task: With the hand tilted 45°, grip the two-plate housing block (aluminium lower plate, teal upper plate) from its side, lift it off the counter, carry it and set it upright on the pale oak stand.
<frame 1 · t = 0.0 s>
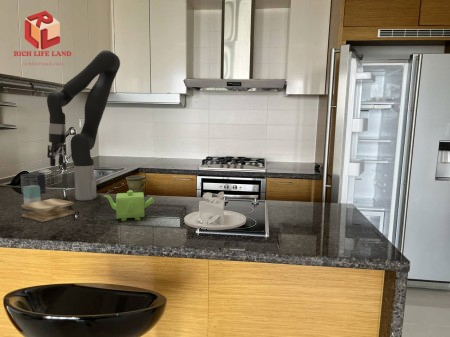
hand: (57, 165, 165), 17 cm above the counter, tool pointing down, fingers open, 8 cm apart
dish: (215, 221, 132), on the counter
stand: (48, 215, 137), on the counter
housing: (32, 207, 148), on the counter
small box: (34, 193, 181), on the counter
ceramic cup: (138, 196, 176), on the counter
kettle: (130, 218, 134), on the counter
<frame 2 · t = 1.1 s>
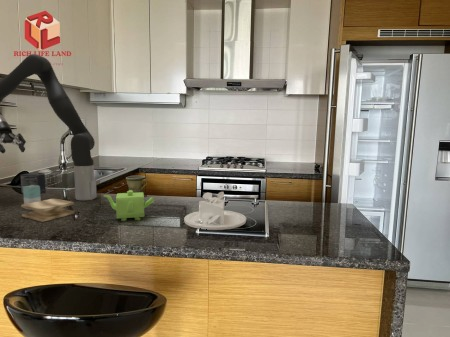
hand: (14, 151, 151), 25 cm above the counter, tool tilted 45°, fingers open, 8 cm apart
nothing on the counter moved.
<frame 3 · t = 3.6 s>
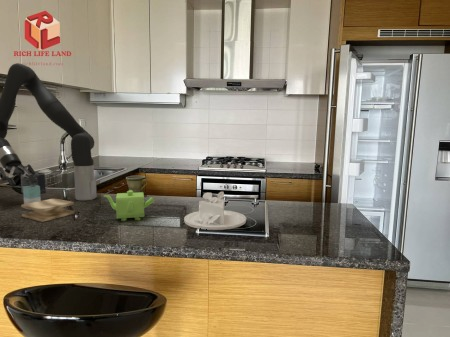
hand: (24, 184, 150), 10 cm above the counter, tool tilted 45°, fingers open, 8 cm apart
nothing on the counter moved.
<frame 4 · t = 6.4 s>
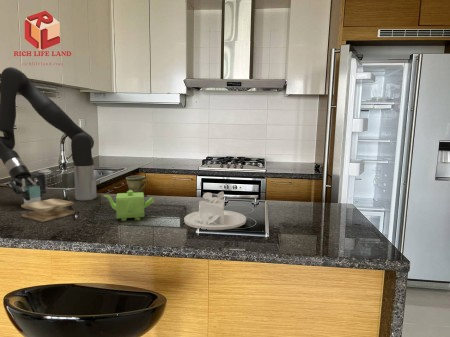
hand: (34, 198, 147), 5 cm above the counter, tool tilted 45°, fingers closed on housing, 4 cm apart
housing: (32, 207, 148), on the counter, touching gripper
everything else where it was.
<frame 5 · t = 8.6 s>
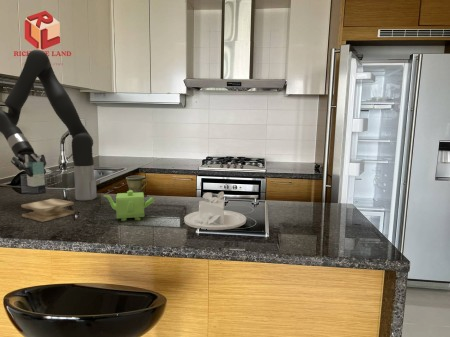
hand: (38, 174, 141), 16 cm above the counter, tool tilted 45°, fingers closed on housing, 4 cm apart
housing: (36, 185, 143), point 11 cm above the counter, touching gripper
everything else where it was.
when the fingers open (11 cm above the counter, at t = 11.2 s): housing drops 1 cm, resting on stand.
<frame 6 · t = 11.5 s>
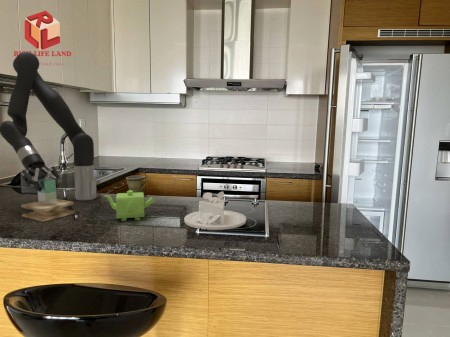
hand: (49, 188, 134), 11 cm above the counter, tool tilted 45°, fingers open, 6 cm apart
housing: (47, 203, 136), point 5 cm above the counter, touching stand
everything else where it was.
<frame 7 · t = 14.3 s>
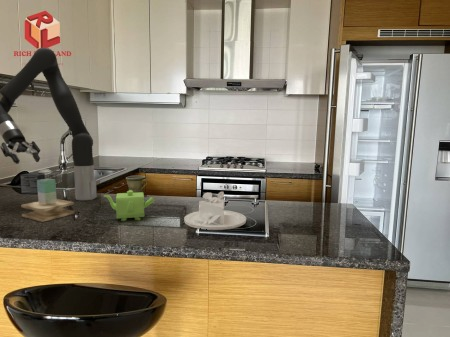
hand: (28, 161, 140), 22 cm above the counter, tool tilted 45°, fingers open, 8 cm apart
nothing on the counter moved.
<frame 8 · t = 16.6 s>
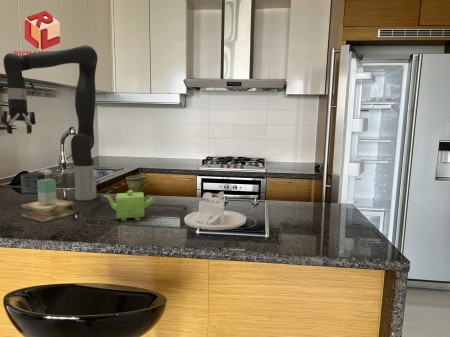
hand: (19, 133, 155), 33 cm above the counter, tool pointing down, fingers open, 8 cm apart
nothing on the counter moved.
at the end: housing inside the target area on the stand (0.1 cm from its centre), point 5.0 cm above the stand's base; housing tilted 0°; the gripper is holding nothing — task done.
